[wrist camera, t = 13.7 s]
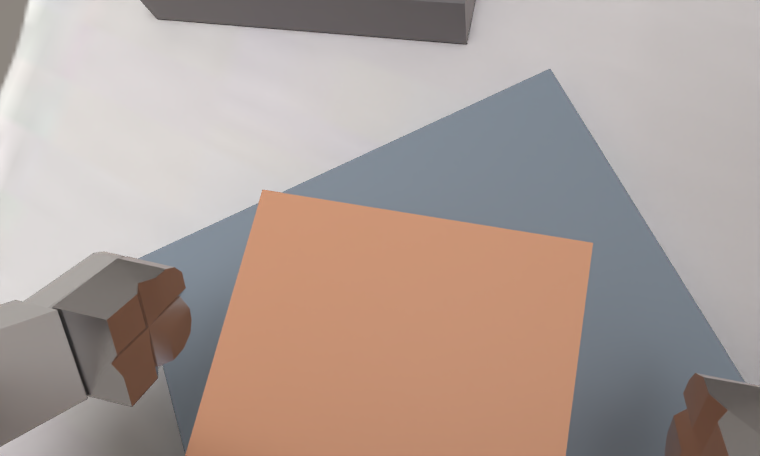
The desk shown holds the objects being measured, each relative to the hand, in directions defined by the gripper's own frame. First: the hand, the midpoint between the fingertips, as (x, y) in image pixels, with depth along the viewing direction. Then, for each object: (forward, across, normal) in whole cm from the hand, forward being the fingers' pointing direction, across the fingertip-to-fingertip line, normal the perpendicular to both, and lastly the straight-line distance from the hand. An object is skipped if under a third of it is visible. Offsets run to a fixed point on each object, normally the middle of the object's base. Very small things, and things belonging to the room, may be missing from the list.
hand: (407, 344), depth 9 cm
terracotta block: (+4, 0, +5) cm, 6 cm away
